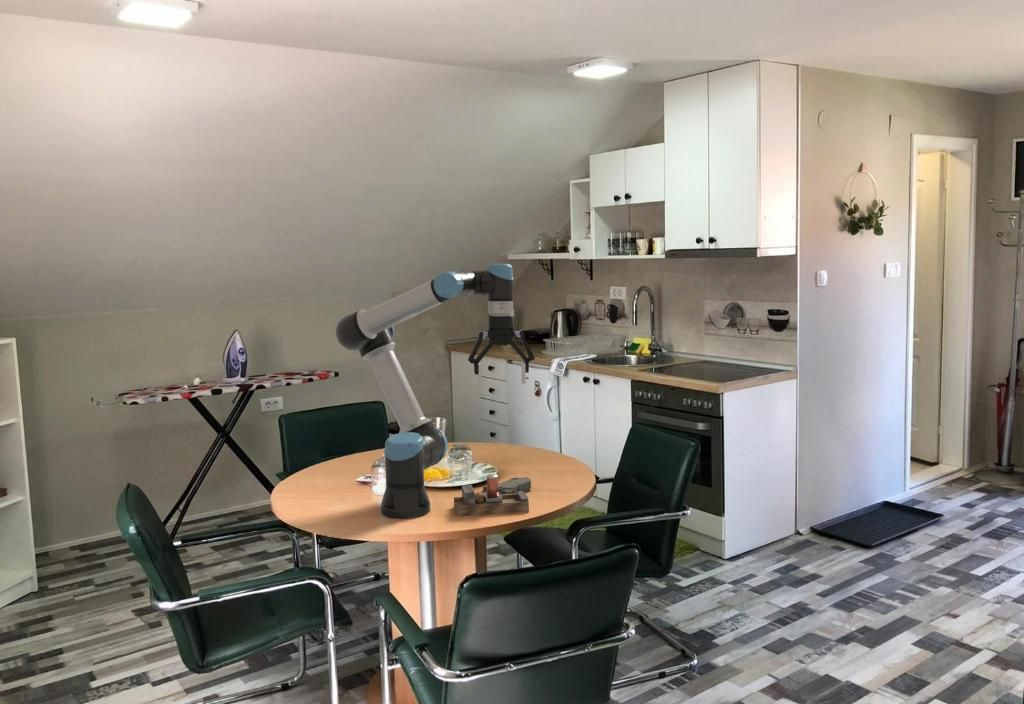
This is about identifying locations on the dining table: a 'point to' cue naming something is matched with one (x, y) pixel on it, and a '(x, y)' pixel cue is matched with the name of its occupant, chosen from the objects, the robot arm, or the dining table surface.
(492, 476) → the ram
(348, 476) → the dining table surface
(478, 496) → the nut
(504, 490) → the rock
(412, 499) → the robot arm
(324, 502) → the dining table surface
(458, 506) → the board
